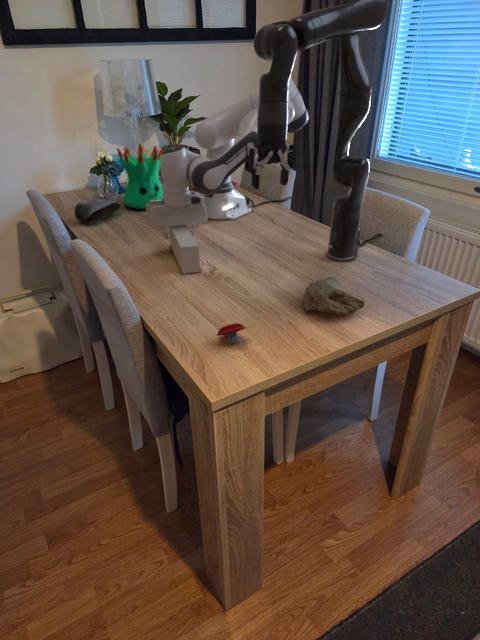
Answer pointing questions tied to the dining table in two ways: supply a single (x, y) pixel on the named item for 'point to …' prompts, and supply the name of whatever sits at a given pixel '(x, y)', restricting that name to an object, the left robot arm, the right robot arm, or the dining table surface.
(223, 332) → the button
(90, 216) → the dark grey case
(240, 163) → the left robot arm
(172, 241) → the bar
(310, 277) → the dining table surface
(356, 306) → the artifact
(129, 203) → the toy
